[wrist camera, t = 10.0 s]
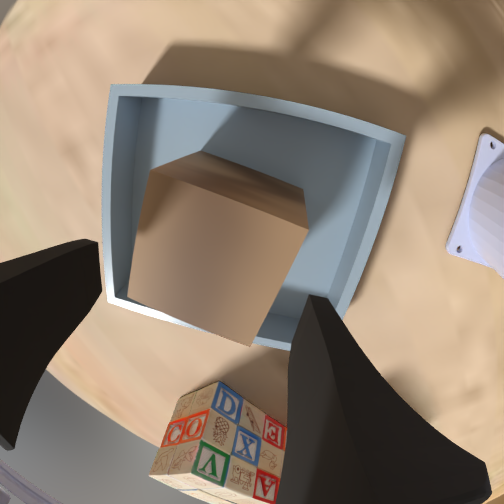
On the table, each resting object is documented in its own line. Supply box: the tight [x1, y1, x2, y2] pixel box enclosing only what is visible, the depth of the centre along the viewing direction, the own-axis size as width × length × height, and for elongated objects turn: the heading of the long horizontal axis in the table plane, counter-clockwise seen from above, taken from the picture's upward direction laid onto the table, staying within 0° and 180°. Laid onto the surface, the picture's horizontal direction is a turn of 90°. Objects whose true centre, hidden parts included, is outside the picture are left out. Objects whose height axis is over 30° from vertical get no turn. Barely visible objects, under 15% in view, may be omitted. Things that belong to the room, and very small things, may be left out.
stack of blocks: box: [149, 381, 287, 504], centre depth 21 cm, size 21×6×12 cm, turn 42°
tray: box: [102, 84, 406, 351], centre depth 15 cm, size 14×13×3 cm
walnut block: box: [127, 151, 309, 347], centre depth 14 cm, size 6×6×6 cm
